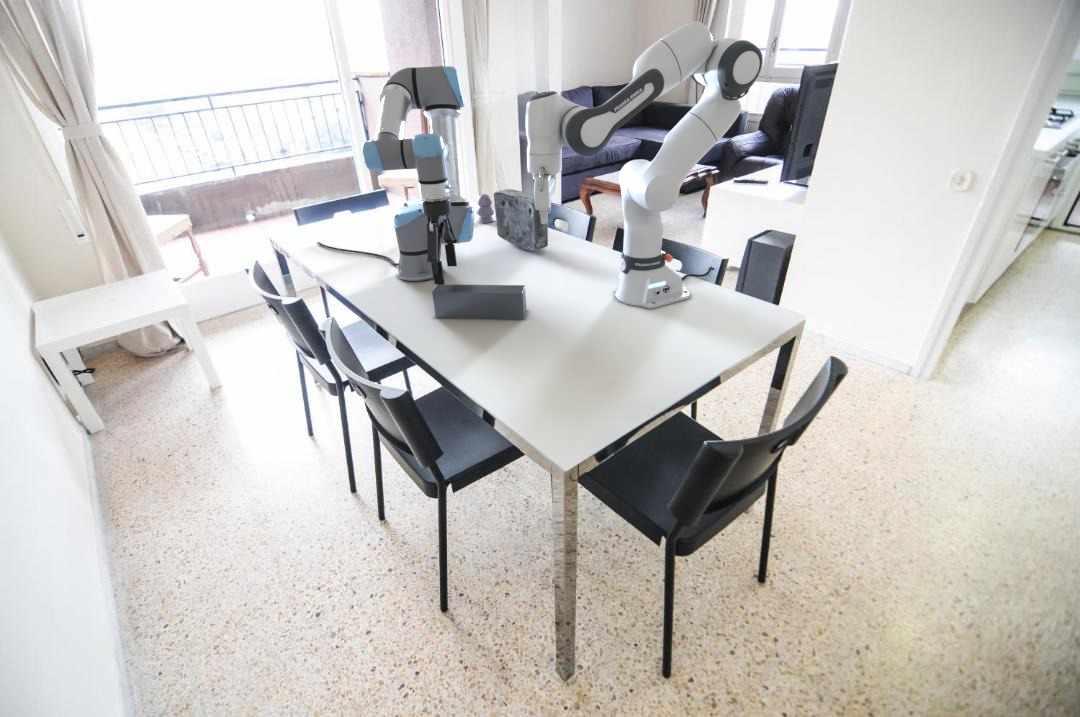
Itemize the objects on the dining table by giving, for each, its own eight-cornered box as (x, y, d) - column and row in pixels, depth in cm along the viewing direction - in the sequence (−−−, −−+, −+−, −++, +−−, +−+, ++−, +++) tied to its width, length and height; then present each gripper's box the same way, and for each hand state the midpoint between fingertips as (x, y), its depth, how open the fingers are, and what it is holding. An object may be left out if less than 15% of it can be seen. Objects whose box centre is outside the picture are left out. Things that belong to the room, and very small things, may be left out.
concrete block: (553, 252, 189) (552, 199, 179) (534, 258, 185) (532, 204, 175) (514, 236, 208) (511, 187, 198) (496, 241, 204) (492, 191, 193)
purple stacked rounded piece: (498, 220, 229) (496, 193, 223) (486, 224, 225) (483, 197, 218) (486, 217, 234) (484, 191, 228) (473, 221, 230) (471, 194, 223)
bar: (436, 318, 146) (431, 292, 141) (441, 309, 151) (437, 284, 146) (523, 319, 143) (522, 293, 139) (526, 311, 148) (524, 285, 143)
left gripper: (436, 211, 119) (447, 292, 130) (460, 187, 140) (468, 259, 151) (406, 211, 120) (420, 292, 131) (434, 187, 141) (444, 259, 152)
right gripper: (553, 172, 117) (554, 230, 125) (559, 156, 135) (560, 208, 142) (527, 172, 118) (529, 230, 125) (536, 157, 135) (538, 208, 143)
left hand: (446, 274), depth 141 cm, fingers open, 13 cm apart
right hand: (546, 218), depth 134 cm, fingers open, 8 cm apart
